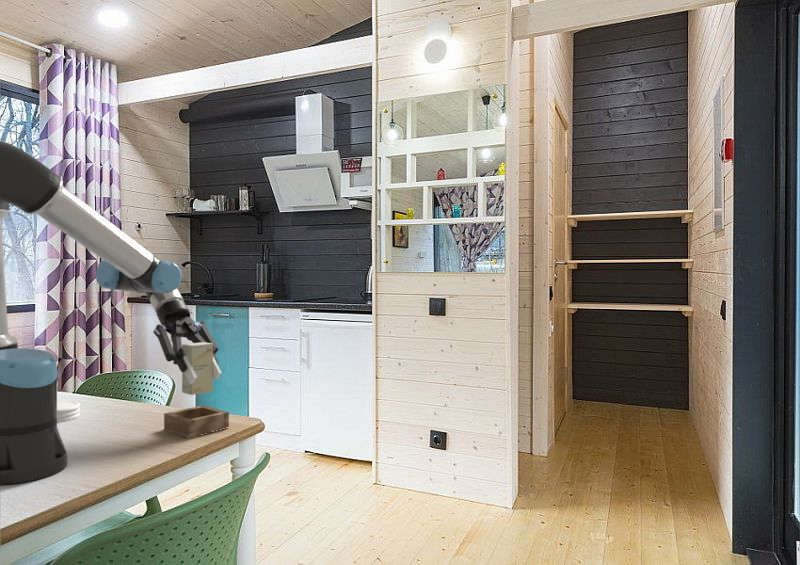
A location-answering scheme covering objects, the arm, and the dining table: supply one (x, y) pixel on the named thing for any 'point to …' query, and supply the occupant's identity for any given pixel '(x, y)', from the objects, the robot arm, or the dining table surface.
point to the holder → (196, 421)
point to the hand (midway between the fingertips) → (206, 378)
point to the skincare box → (199, 367)
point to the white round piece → (67, 410)
